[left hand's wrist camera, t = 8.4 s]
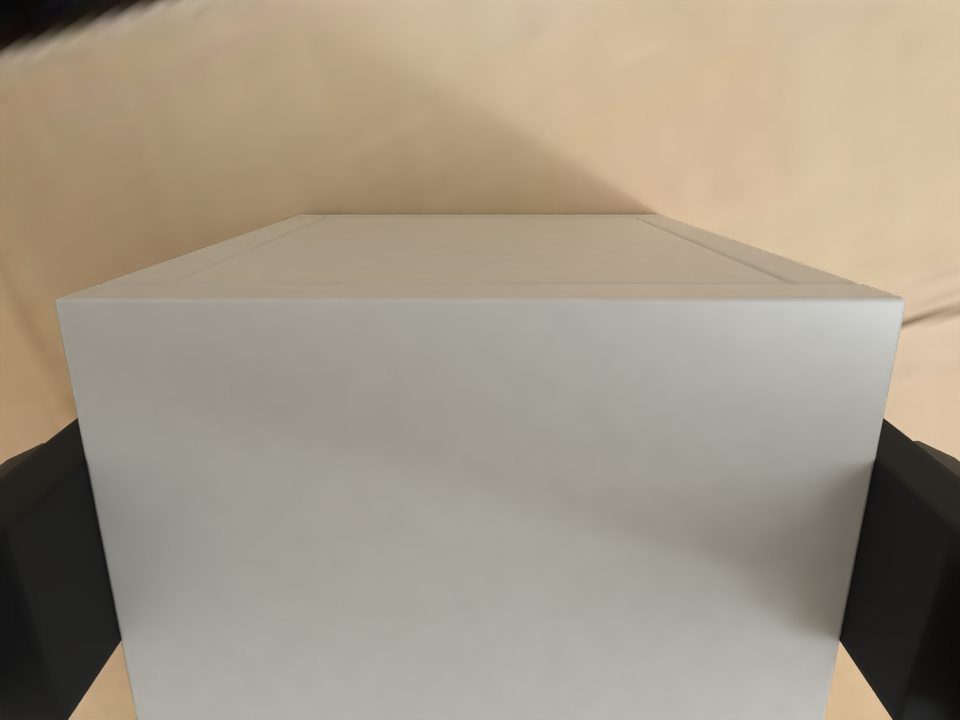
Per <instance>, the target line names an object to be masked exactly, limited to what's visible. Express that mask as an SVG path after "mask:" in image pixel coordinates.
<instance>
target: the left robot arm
mask: <svg viewBox="0 0 960 720" xmlns="http://www.w3.org/2000/svg"><path fill="white" fill-rule="evenodd" d="M120 641H121V636H120V631H119V626H118V621H117V616H116V610H115V605H114V600H113V595H112V590H111V585H110V580H109V575H108V570H107V565H106V559H105V554H104V549H103V544H102V539H101V534H100V529H99V524H98V519H97V514H96V508H95V503H94V498H93V493H92V488H91V483H90V478H89V473H88V468H87V463H86V457H85V452H84V447H83V442H82V437H81V432H80V427H79V422H78V418H77V419H76V420H74V421H73V422H72V423H71V424H69V425H68V426H67V427H65V428H64V429H63V430H62V431H60V432H59V433H58V434H56V435H55V436H54V437H53V438H51V439H50V440H49V441H47V442H46V443H42V444H40V445H38V446H36V447H34V448H32V449H30V450H28V451H25V452H23V453H21V454H19V455H17V456H15V457H13V458H10V459H8V460H7V461H5V462H4V463H3V464H1V465H0V720H68V719H69V717H70V716H71V714H72V713H73V711H74V710H75V708H76V707H77V705H78V704H79V702H80V701H81V700H82V698H83V697H84V695H85V694H86V692H87V691H88V689H89V688H90V686H91V685H92V683H93V682H94V680H95V679H96V677H97V676H98V674H99V673H100V671H101V670H102V668H103V667H104V665H105V664H106V662H107V661H108V659H109V658H110V656H111V655H112V653H113V652H114V650H115V649H116V647H117V646H118V644H119V643H120ZM840 642H841V643H842V645H843V646H844V648H845V649H846V651H847V652H848V654H849V655H850V657H851V658H852V660H853V661H854V663H855V664H856V666H857V667H858V669H859V670H860V672H861V673H862V675H863V676H864V677H865V679H866V680H867V682H868V683H869V685H870V686H871V688H872V689H873V691H874V692H875V694H876V695H877V697H878V698H879V700H880V701H881V703H882V704H883V706H884V707H885V709H886V710H887V712H888V713H889V715H890V716H891V718H892V719H893V720H960V461H958V460H957V459H955V458H954V457H952V456H950V455H948V454H945V453H943V452H941V451H939V450H937V449H935V448H933V447H930V446H928V445H926V444H924V443H922V442H920V441H912V440H911V439H909V438H908V437H907V436H906V435H904V434H903V433H902V432H901V431H899V430H898V429H897V428H895V427H894V426H893V425H892V424H890V423H889V422H888V421H886V420H885V419H884V418H883V421H882V426H881V431H880V436H879V441H878V447H877V452H876V457H875V462H874V467H873V472H872V477H871V482H870V487H869V492H868V498H867V503H866V508H865V513H864V518H863V523H862V528H861V533H860V538H859V544H858V549H857V554H856V559H855V564H854V569H853V574H852V579H851V584H850V589H849V595H848V600H847V605H846V610H845V615H844V620H843V625H842V630H841V635H840Z"/></svg>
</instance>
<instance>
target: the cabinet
mask: <svg viewBox="0 0 960 720" xmlns="http://www.w3.org/2000/svg"><path fill="white" fill-rule="evenodd" d="M55 304H56V309H57V315H58V320H59V325H60V330H61V335H62V340H63V345H64V350H65V355H66V360H67V366H68V371H69V376H70V381H71V386H72V391H73V396H74V401H75V406H76V411H77V417H78V422H79V427H80V432H81V437H82V442H83V447H84V452H85V457H86V463H87V468H88V473H89V478H90V483H91V488H92V493H93V498H94V503H95V508H96V514H97V519H98V524H99V529H100V534H101V539H102V544H103V549H104V554H105V559H106V565H107V570H108V575H109V580H110V585H111V590H112V595H113V600H114V605H115V610H116V616H117V621H118V626H119V631H120V636H121V641H122V646H123V651H124V656H125V661H126V667H127V672H128V677H129V682H130V687H131V692H132V697H133V702H134V707H135V712H136V718H137V720H824V717H825V712H826V707H827V702H828V697H829V692H830V686H831V681H832V676H833V671H834V666H835V661H836V656H837V651H838V646H839V641H840V635H841V630H842V625H843V620H844V615H845V610H846V605H847V600H848V595H849V589H850V584H851V579H852V574H853V569H854V564H855V559H856V554H857V549H858V544H859V538H860V533H861V528H862V523H863V518H864V513H865V508H866V503H867V498H868V492H869V487H870V482H871V477H872V472H873V467H874V462H875V457H876V452H877V447H878V441H879V436H880V431H881V426H882V421H883V416H884V411H885V406H886V401H887V395H888V390H889V385H890V380H891V375H892V370H893V365H894V360H895V355H896V350H897V344H898V339H899V334H900V329H901V324H902V319H903V314H904V309H905V304H906V303H905V299H904V298H902V297H899V296H896V295H893V294H890V293H887V292H884V291H882V290H879V289H876V288H873V287H870V286H867V285H864V284H858V283H855V282H853V281H850V280H847V279H844V278H841V277H838V276H836V275H833V274H830V273H827V272H824V271H821V270H818V269H815V268H812V267H810V266H807V265H804V264H801V263H798V262H795V261H792V260H789V259H786V258H784V257H781V256H778V255H775V254H772V253H769V252H766V251H763V250H760V249H758V248H755V247H752V246H749V245H746V244H743V243H740V242H737V241H734V240H732V239H729V238H726V237H723V236H720V235H717V234H714V233H711V232H708V231H706V230H703V229H700V228H697V227H694V226H691V225H688V224H685V223H682V222H680V221H677V220H674V219H671V218H668V217H666V216H663V215H660V214H301V215H298V216H295V217H291V218H289V219H286V220H283V221H280V222H277V223H274V224H271V225H268V226H265V227H263V228H260V229H257V230H254V231H251V232H248V233H245V234H242V235H239V236H237V237H234V238H231V239H228V240H225V241H222V242H219V243H216V244H213V245H211V246H208V247H205V248H202V249H199V250H196V251H193V252H190V253H187V254H184V255H182V256H179V257H176V258H173V259H170V260H167V261H164V262H161V263H158V264H156V265H153V266H150V267H147V268H144V269H141V270H138V271H135V272H132V273H130V274H127V275H124V276H121V277H118V278H115V279H112V280H109V281H106V282H104V283H101V284H100V285H94V286H92V287H89V288H86V289H83V290H80V291H77V292H74V293H71V294H68V295H65V296H63V297H60V298H58V299H57V300H56V303H55Z"/></svg>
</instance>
